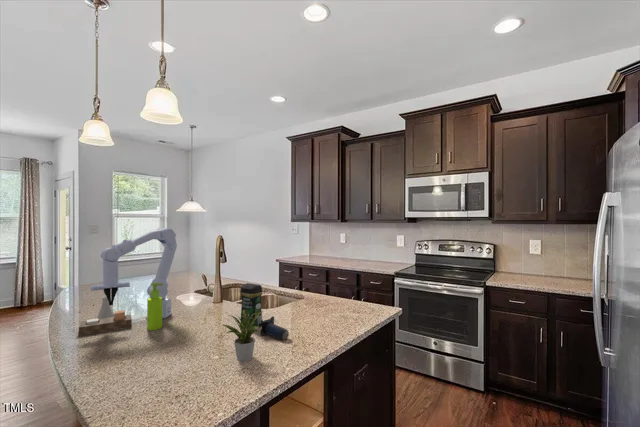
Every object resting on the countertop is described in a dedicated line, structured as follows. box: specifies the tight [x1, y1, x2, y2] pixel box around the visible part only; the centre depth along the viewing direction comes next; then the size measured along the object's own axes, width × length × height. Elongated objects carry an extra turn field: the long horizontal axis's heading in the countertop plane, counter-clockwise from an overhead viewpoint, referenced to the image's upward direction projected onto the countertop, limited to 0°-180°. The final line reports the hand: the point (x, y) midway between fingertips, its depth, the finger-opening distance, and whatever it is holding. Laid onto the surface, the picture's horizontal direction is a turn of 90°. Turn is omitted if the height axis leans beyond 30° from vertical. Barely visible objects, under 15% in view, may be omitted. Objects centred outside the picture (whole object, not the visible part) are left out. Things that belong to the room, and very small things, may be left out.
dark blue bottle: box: [258, 316, 289, 341], centre depth 131 cm, size 9×8×12 cm
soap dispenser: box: [146, 282, 164, 331], centre depth 142 cm, size 6×7×20 cm
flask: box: [96, 296, 115, 319], centre depth 157 cm, size 7×7×10 cm
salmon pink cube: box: [114, 309, 126, 321], centre depth 144 cm, size 4×4×4 cm
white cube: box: [86, 317, 99, 325], centre depth 139 cm, size 4×4×4 cm
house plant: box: [221, 310, 264, 362], centre depth 112 cm, size 14×14×16 cm
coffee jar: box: [240, 282, 263, 327], centre depth 146 cm, size 10×8×19 cm
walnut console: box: [78, 313, 133, 337], centre depth 142 cm, size 19×9×4 cm, turn 123°
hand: (111, 304), depth 143 cm, fingers closed
